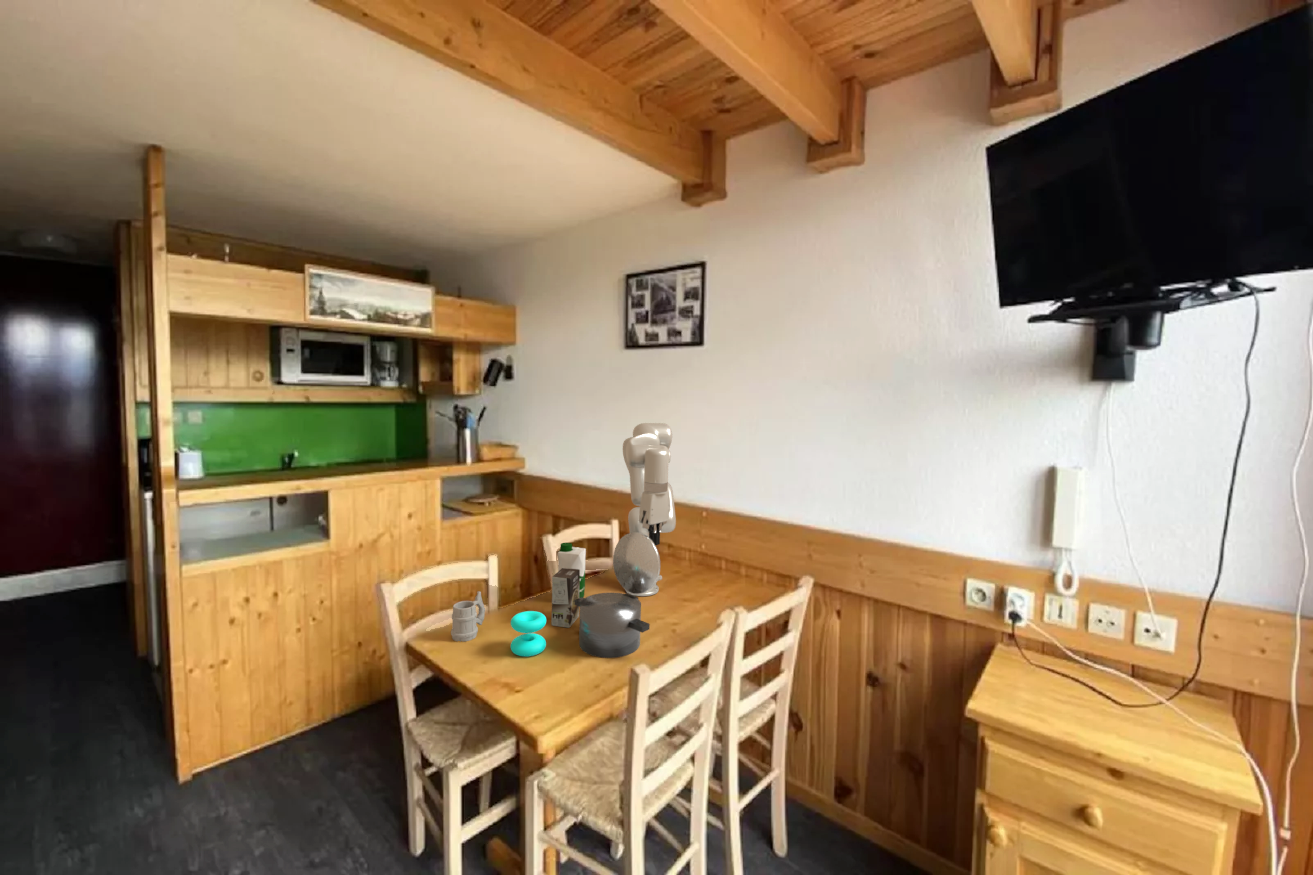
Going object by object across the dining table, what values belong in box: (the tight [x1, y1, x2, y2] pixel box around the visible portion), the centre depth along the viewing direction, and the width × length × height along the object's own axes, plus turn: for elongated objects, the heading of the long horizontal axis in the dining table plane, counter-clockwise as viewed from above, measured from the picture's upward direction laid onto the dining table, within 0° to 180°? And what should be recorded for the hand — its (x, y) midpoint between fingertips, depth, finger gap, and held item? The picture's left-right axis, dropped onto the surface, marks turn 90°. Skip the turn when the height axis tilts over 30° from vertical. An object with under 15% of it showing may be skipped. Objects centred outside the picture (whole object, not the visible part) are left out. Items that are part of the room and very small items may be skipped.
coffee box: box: [551, 568, 580, 628], centre depth 180 cm, size 9×6×16 cm
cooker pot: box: [575, 592, 651, 659], centre depth 166 cm, size 18×28×12 cm, turn 50°
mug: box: [450, 590, 486, 642], centre depth 169 cm, size 8×12×12 cm, turn 152°
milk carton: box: [557, 542, 587, 598], centre depth 197 cm, size 9×9×20 cm
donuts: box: [510, 610, 547, 657], centre depth 160 cm, size 10×10×10 cm
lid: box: [612, 532, 661, 594], centre depth 173 cm, size 18×18×3 cm
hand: (654, 544), depth 179 cm, fingers closed
